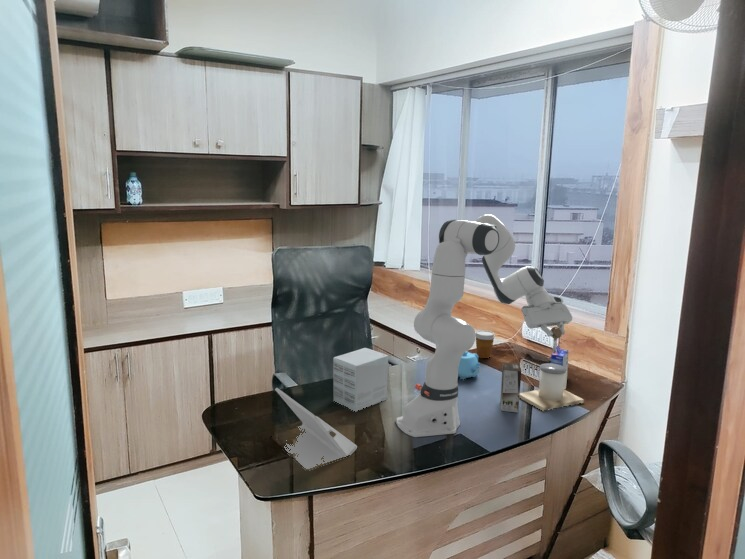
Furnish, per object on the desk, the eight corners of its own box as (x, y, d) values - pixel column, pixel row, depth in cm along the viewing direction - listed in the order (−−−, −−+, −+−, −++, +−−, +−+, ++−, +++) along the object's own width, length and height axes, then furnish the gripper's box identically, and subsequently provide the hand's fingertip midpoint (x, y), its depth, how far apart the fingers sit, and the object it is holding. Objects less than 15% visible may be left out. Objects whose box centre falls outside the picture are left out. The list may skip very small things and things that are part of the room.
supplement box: (364, 389, 209) (365, 346, 206) (388, 399, 200) (389, 355, 196) (332, 401, 197) (332, 356, 194) (355, 413, 188) (356, 365, 184)
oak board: (542, 411, 191) (542, 407, 191) (517, 397, 204) (518, 393, 204) (583, 403, 199) (583, 399, 199) (557, 389, 212) (557, 386, 212)
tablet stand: (306, 472, 150) (306, 417, 146) (269, 437, 169) (268, 388, 166) (358, 453, 160) (358, 402, 157) (317, 423, 180) (317, 376, 177)
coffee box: (518, 412, 190) (521, 371, 187) (500, 411, 191) (503, 369, 188) (517, 402, 199) (520, 362, 196) (499, 401, 200) (502, 361, 197)
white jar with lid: (549, 403, 195) (552, 373, 193) (532, 393, 204) (534, 365, 202) (572, 398, 200) (575, 369, 197) (554, 389, 208) (557, 361, 206)
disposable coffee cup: (473, 359, 247) (475, 335, 245) (473, 352, 256) (474, 329, 254) (494, 360, 245) (495, 336, 243) (493, 354, 255) (494, 330, 252)
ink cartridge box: (554, 374, 229) (557, 342, 226) (567, 376, 226) (570, 345, 223) (548, 381, 221) (551, 348, 218) (562, 384, 218) (564, 351, 215)
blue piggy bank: (442, 379, 221) (443, 354, 219) (449, 368, 234) (450, 344, 232) (478, 384, 216) (480, 358, 214) (483, 373, 229) (484, 348, 227)
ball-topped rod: (553, 355, 195) (556, 329, 193) (545, 351, 199) (547, 326, 197) (562, 354, 197) (565, 328, 195) (554, 350, 201) (556, 325, 199)
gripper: (524, 302, 196) (539, 333, 190) (565, 297, 205) (582, 328, 198) (515, 310, 201) (530, 341, 194) (556, 306, 209) (572, 336, 202)
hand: (557, 334), depth 196 cm, fingers closed on ball-topped rod, 4 cm apart
